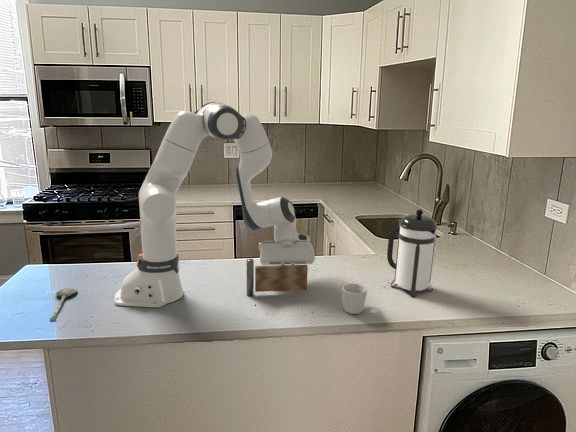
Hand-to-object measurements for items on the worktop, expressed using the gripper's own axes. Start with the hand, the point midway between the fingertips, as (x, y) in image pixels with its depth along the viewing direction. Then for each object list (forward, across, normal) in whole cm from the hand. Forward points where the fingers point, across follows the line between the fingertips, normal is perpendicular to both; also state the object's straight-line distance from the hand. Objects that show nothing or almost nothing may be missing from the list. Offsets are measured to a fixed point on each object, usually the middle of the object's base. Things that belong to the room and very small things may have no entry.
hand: (288, 274), depth 157 cm
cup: (+17, +20, -9) cm, 28 cm away
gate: (+6, -3, -1) cm, 7 cm away
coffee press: (+6, +44, +1) cm, 44 cm away
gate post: (+7, -14, 0) cm, 16 cm away
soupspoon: (+9, -75, -1) cm, 76 cm away
